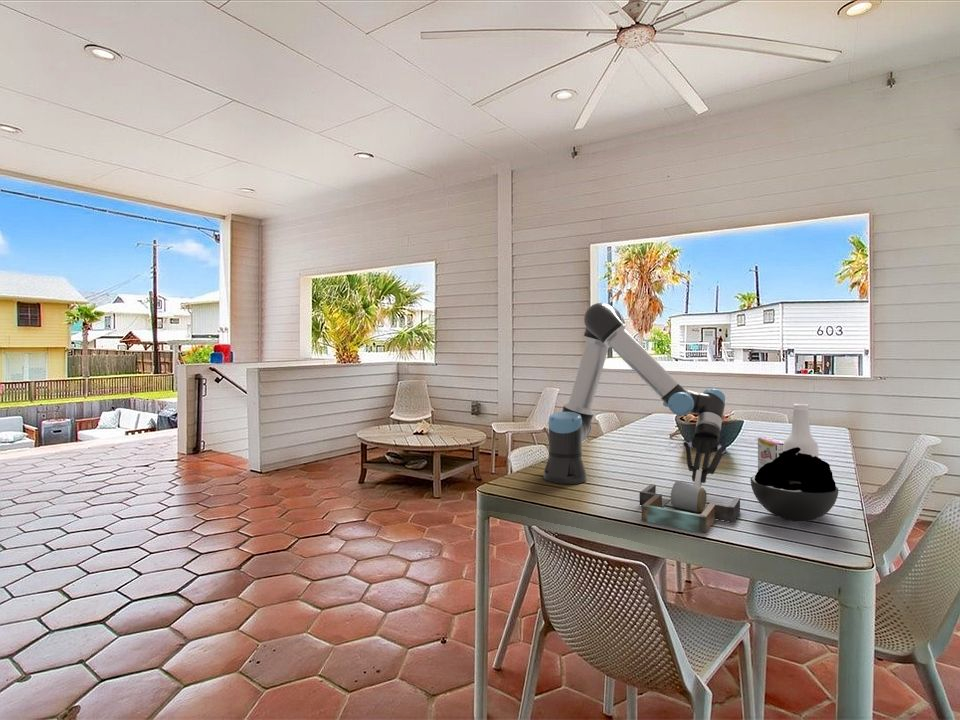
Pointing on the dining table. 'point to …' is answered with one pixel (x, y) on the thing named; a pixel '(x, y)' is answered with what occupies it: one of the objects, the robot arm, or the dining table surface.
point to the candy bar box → (768, 450)
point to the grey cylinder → (688, 497)
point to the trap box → (681, 519)
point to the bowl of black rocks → (795, 486)
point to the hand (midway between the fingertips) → (696, 490)
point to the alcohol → (801, 432)
